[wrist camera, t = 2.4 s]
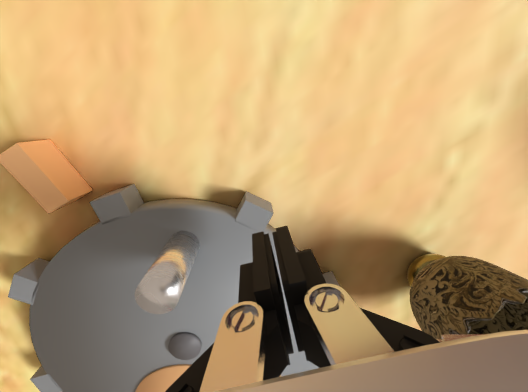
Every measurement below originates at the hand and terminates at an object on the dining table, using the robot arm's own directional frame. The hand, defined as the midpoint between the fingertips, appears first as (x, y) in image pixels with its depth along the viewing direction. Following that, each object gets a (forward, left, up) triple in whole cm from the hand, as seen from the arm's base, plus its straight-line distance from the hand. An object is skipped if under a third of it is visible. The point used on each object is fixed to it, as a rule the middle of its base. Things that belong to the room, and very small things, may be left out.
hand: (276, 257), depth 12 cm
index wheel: (-11, +5, -7) cm, 14 cm away
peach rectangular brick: (+2, +14, -7) cm, 16 cm away
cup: (-5, -14, -7) cm, 16 cm away
